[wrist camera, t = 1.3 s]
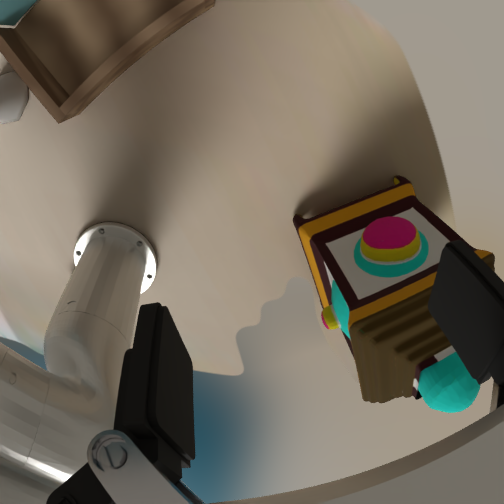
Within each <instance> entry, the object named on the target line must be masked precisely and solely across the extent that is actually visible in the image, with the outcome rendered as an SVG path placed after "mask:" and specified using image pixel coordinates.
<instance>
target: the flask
mask: <svg viewBox="0 0 504 504" xmlns="http://www.w3.org/2000/svg"><path fill="white" fill-rule="evenodd" d="M27 102H28V88H27V85H26V84H25V83H24V81H23V80H22V79H21V78H20V76H19V75H18V74H17V73H16V72H14V71H13V72H9V73H6V74H3V75H0V123H2V124H5V123H9V122H14V121H18V120H19V119H20V117H21V115H22V112H23V110H24V108H25V106H26V104H27Z"/></svg>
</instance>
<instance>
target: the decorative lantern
mask: <svg viewBox="0 0 504 504" xmlns="http://www.w3.org/2000/svg"><path fill="white" fill-rule="evenodd" d="M394 184H395V185H394V186H392V187H389V188H386V189H384V190H381V191H379V192H376V193H374V194H371V195H368V196H366V197H363V198H361V199H358V200H356V201H353V202H351V203H348V204H346V205H343V206H340V207H338V208H335V209H333V210H330V211H328V212H325V213H323V214H320V215H318V216H315V217H312V218H309V219H304V218H303V217H302V216H301V215H295V216H294V217H293V223H294V226H295V228H296V230H297V233H298V235H299V238H300V241H301V244H302V247H303V250H304V252H305V255H306V258H307V261H308V264H309V267H310V270H311V273H312V276H313V279H314V282H315V285H316V288H317V291H318V294H319V297H320V302H321V305H322V308H323V311H322V313H321V316H322V321H323V324H324V325H325V327H326V328H327V329H336V328H339V327H340V328H341V330H342V332H343V335H344V337H345V339H346V341H347V343H348V346H349V348H350V350H351V352H352V355H353V357H354V359H355V363H356V367H357V372H358V377H359V382H360V387H361V392H362V398H363V400H364V401H370V402H371V403H375V402H379V403H385V402H387V401H390V400H391V399H394V398H399V397H401V396H404V397H406V398H407V397H411V396H414V397H415V399H419V398H421V397H423V399H424V401H425V402H426V404H427V405H428V406H429V407H430V408H432V409H435V410H439V411H443V412H448V413H453V412H459V411H463V410H464V409H466V408H468V407H469V406H470V405H471V404H472V403H473V401H474V400H475V398H476V396H477V394H478V392H479V389H480V385H479V384H478V382H477V381H476V379H473V378H472V377H471V375H470V374H469V372H468V370H467V369H466V367H465V365H464V364H463V362H462V361H461V359H460V357H459V356H458V354H457V353H456V351H455V349H454V348H453V346H452V345H451V343H450V342H449V340H448V339H447V337H446V336H445V334H444V333H443V331H442V330H441V328H440V327H439V325H438V324H437V322H436V321H435V319H434V318H433V316H432V315H431V314H430V312H429V309H428V301H429V298H430V295H431V291H432V288H433V284H434V280H435V277H436V273H437V269H438V265H439V261H440V257H441V253H442V249H443V248H444V247H445V245H446V243H448V242H452V241H456V240H462V241H463V242H465V243H466V244H467V245H468V246H469V247H470V248H471V249H472V250H473V251H474V252H475V253H476V254H477V255H478V256H479V257H480V258H481V259H482V260H483V261H484V262H485V263H486V264H487V265H488V266H489V267H490V268H491V269H492V270H493V271H495V268H494V261H495V256H494V254H493V253H491V252H488V251H484V250H479V249H475V248H473V247H472V246H470V245H469V244H468V243H467V242H466V241H465V240H464V239H463V238H461V237H460V236H459V235H458V234H457V233H456V232H455V231H454V230H452V229H451V228H450V227H449V226H448V225H447V224H446V223H444V222H443V221H442V220H441V219H440V218H439V217H437V216H436V215H435V214H434V213H433V212H432V211H430V210H429V209H428V208H427V207H425V206H424V205H423V204H422V203H421V202H419V201H418V199H417V198H416V195H415V192H414V188H413V186H412V184H411V182H410V181H409V180H407V179H406V178H404V177H402V176H395V177H394Z"/></svg>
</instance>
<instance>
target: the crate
mask: <svg viewBox="0 0 504 504" xmlns="http://www.w3.org/2000/svg"><path fill="white" fill-rule="evenodd" d="M214 3H215V0H40V1H39V2H38V3H37V4H36V5H35V6H34V7H33V8H32V9H31V10H30V11H29V13H28V14H27V15H26V16H25V17H24V18H23V19H22V20H21V22H20V23H19V24H18V25H17V26H16V28H15V29H13V28H0V52H1V53H2V54H3V56H4V57H5V58H6V60H7V61H8V62H9V63H10V65H11V66H12V67H13V69H14V70H15V71H16V72H17V74H18V75H19V76H20V78H21V79H22V80H23V81H24V83H25V84H26V85H27V86H28V87H29V89H30V90H31V91H32V92H33V94H34V95H35V96H36V97H37V99H38V100H39V101H40V102H41V103H42V105H43V106H44V107H45V108H46V109H47V111H48V112H49V113H50V114H51V115H52V116H53V118H54V119H55V120H56V121H57V122H58V124H59V123H61V122H63V121H66V120H68V119H70V118H72V117H74V116H77V115H79V114H80V113H81V112H82V111H83V110H84V109H85V108H86V107H87V106H88V105H89V104H90V103H91V102H92V101H93V100H94V99H95V98H96V97H97V96H98V95H99V94H100V93H101V92H102V91H103V90H104V89H105V88H106V87H108V86H109V85H110V84H111V83H112V82H113V81H114V80H115V79H116V78H117V77H119V76H120V75H121V74H122V73H123V72H124V71H125V70H127V69H128V68H129V67H130V66H131V65H132V64H134V63H135V62H136V61H137V60H138V59H140V58H141V57H142V56H143V55H145V54H146V53H147V52H148V51H150V50H151V49H152V48H154V47H155V46H156V45H157V44H159V43H160V42H161V41H163V40H164V39H166V38H167V37H168V36H170V35H171V34H172V33H174V32H175V31H177V30H178V29H180V28H181V27H182V26H184V25H185V24H187V23H188V22H190V21H191V20H193V19H194V18H196V17H197V16H199V15H201V14H202V13H204V12H205V11H207V10H209V9H210V8H212V7H214Z"/></svg>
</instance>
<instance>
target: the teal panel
mask: <svg viewBox="0 0 504 504" xmlns="http://www.w3.org/2000/svg"><path fill="white" fill-rule="evenodd" d="M36 1H37V0H0V25H12V26H14V25H15V24H16V23H17V22H18V21H19V20H20V18H21V17H22V16H23V15H24V14H25V13H26V12H27V11H28V9H29V8H30V7H31V6H32V5H33V4H34V3H35V2H36Z"/></svg>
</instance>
